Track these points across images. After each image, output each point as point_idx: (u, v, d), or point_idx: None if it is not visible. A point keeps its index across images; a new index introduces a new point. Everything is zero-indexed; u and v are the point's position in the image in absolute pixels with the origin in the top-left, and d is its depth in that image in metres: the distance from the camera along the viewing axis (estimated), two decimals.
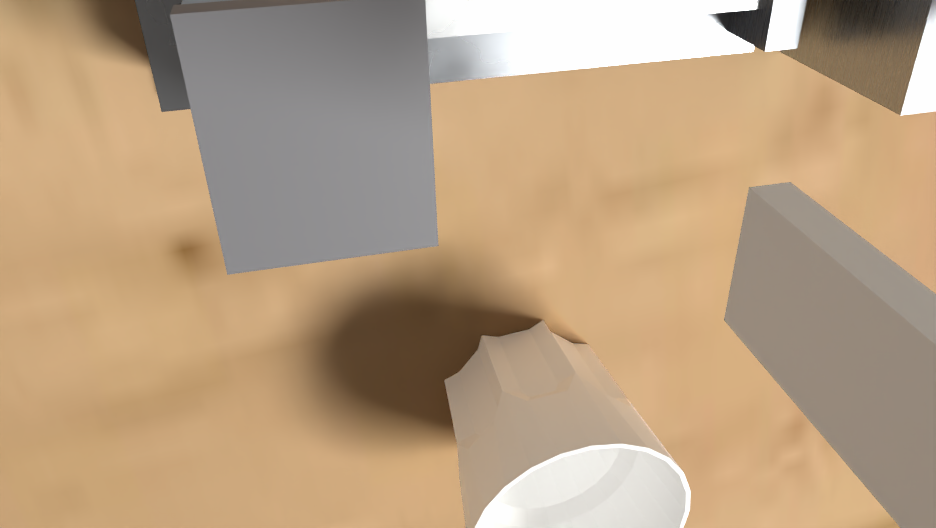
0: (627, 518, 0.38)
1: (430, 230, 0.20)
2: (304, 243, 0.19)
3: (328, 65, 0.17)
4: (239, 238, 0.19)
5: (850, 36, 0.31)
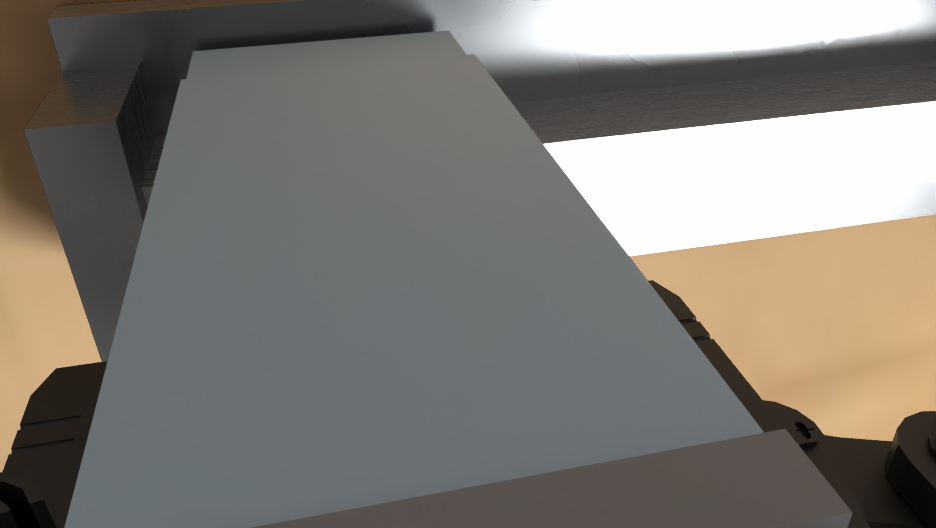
0: None
1: None
2: None
3: None
4: None
5: None
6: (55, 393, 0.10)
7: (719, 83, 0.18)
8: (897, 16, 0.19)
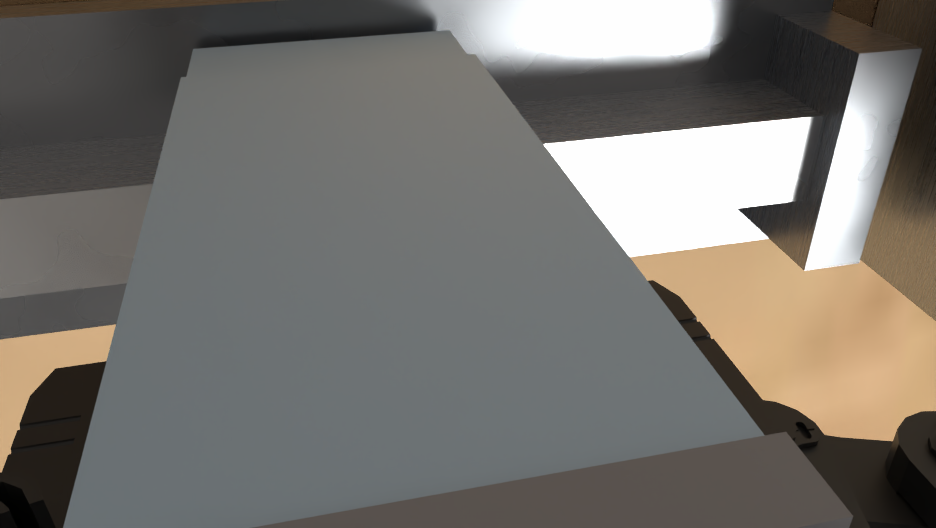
0: None
1: None
2: None
3: None
4: None
5: None
6: (55, 393, 0.10)
7: None
8: (596, 43, 0.17)
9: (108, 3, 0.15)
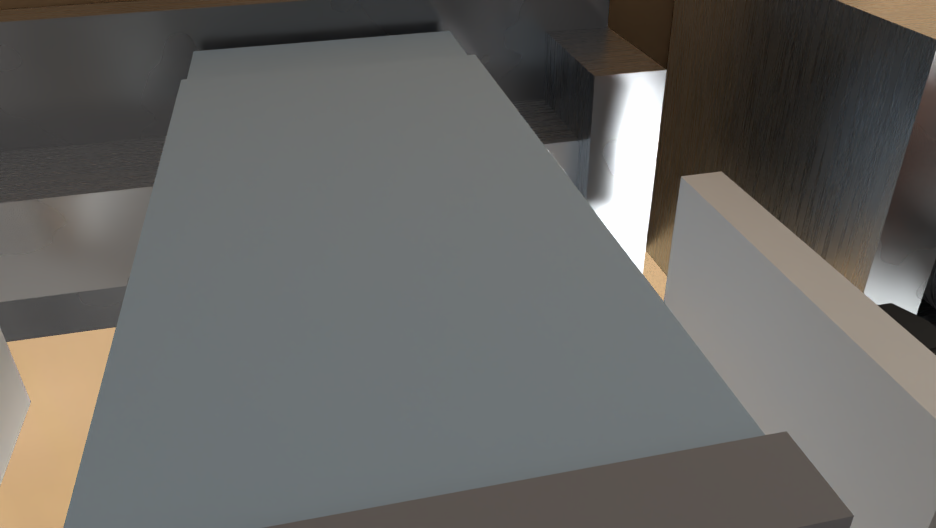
0: None
1: None
2: None
3: None
4: None
5: None
6: None
7: (134, 141, 0.16)
8: None
9: None
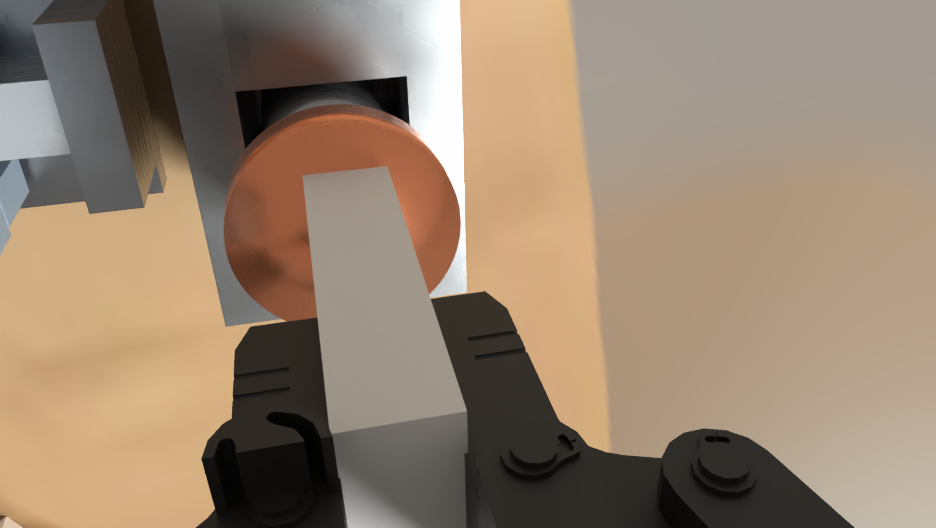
0: None
1: None
2: None
3: None
4: None
5: None
6: (258, 348, 0.11)
7: None
8: None
9: None
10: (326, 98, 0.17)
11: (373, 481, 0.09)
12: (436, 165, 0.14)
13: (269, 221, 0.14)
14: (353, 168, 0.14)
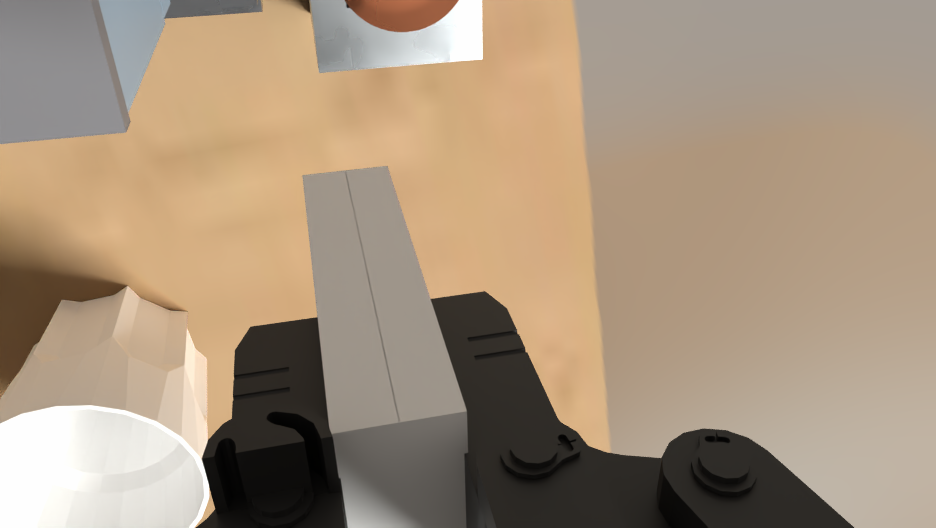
0: (186, 485, 0.38)
1: (115, 116, 0.22)
2: None
3: None
4: None
5: None
6: (258, 349, 0.11)
7: None
8: None
9: None
10: None
11: (373, 481, 0.09)
12: None
13: None
14: None
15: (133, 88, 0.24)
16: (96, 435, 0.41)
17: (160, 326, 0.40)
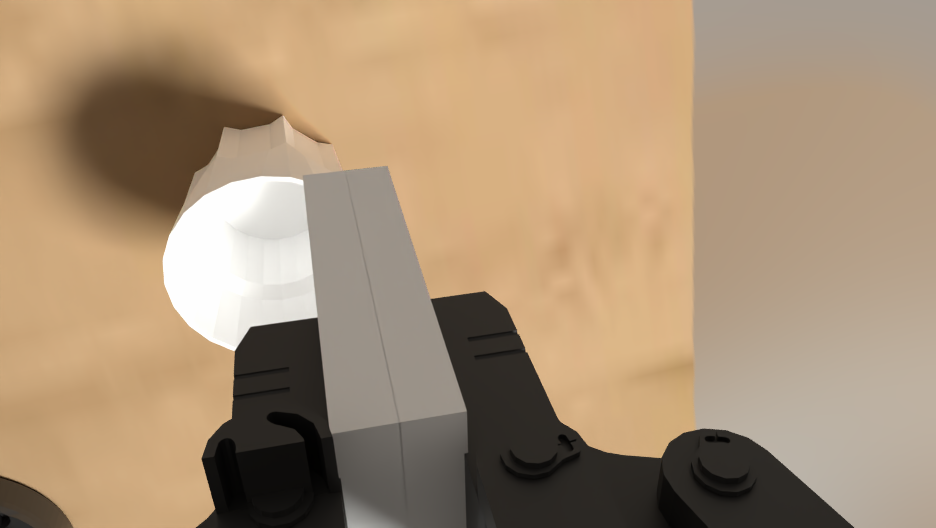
0: None
1: None
2: None
3: None
4: None
5: None
6: (257, 348, 0.11)
7: None
8: None
9: None
10: None
11: (373, 481, 0.09)
12: None
13: None
14: None
15: None
16: (251, 256, 0.45)
17: (314, 150, 0.44)
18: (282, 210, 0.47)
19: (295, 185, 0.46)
